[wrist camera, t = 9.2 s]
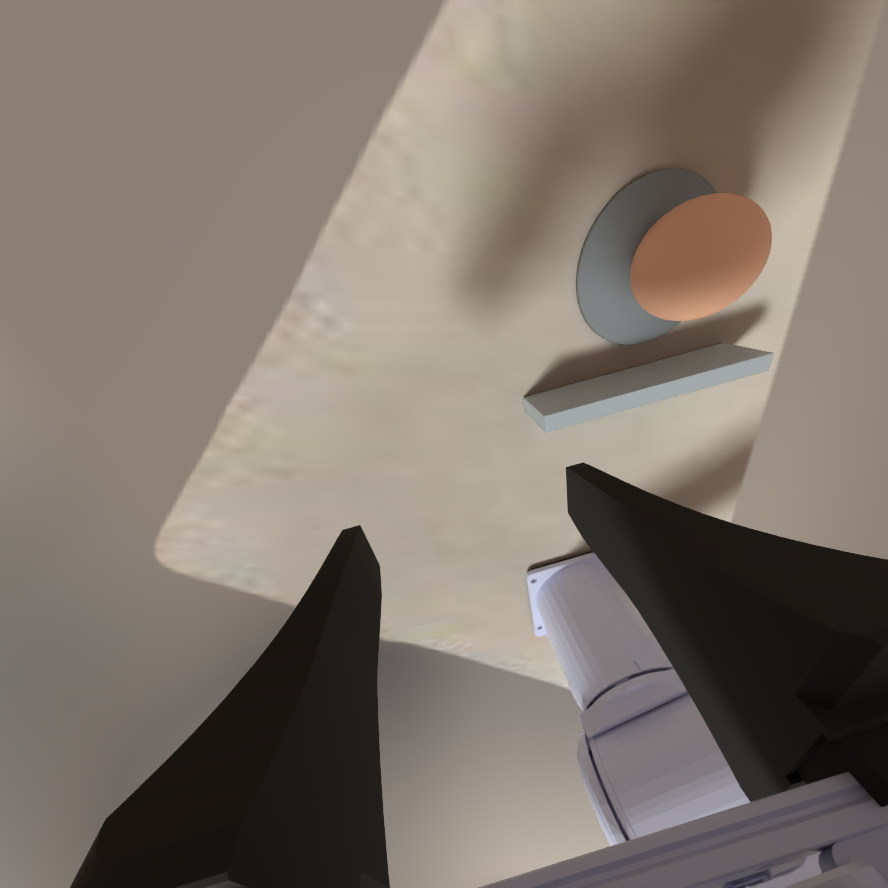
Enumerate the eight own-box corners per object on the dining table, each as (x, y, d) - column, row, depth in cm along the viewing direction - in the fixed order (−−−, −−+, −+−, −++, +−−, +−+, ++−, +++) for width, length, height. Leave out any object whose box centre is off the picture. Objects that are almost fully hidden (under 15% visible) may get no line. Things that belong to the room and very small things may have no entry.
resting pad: (704, 324, 19) (708, 324, 19) (577, 358, 19) (580, 359, 19) (734, 151, 15) (740, 149, 15) (574, 192, 15) (577, 191, 15)
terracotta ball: (687, 304, 18) (789, 308, 14) (607, 327, 18) (684, 339, 13) (701, 197, 16) (828, 161, 11) (608, 221, 15) (702, 193, 11)
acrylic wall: (719, 358, 20) (768, 370, 18) (524, 411, 20) (545, 432, 17) (722, 342, 20) (773, 353, 17) (523, 397, 20) (544, 416, 17)
